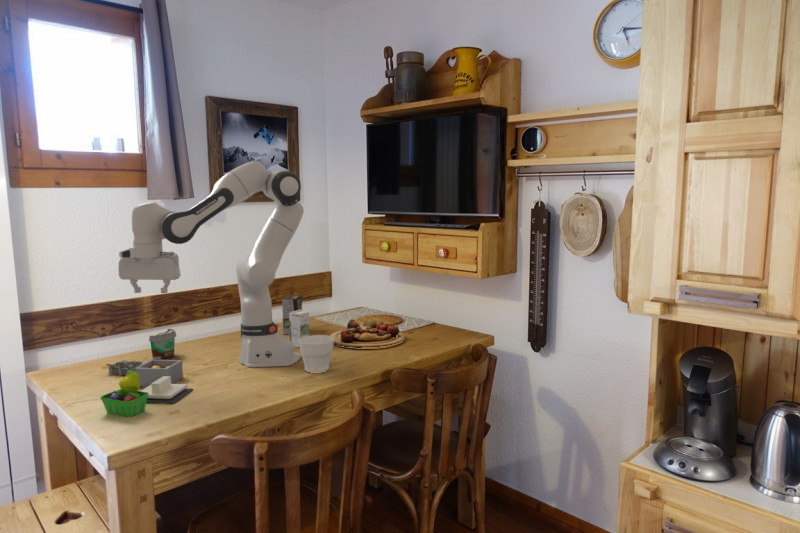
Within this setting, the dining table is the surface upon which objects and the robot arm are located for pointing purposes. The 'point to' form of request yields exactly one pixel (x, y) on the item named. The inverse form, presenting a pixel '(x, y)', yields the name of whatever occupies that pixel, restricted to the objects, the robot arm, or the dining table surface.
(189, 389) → the mat
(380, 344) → the wooden plate with food
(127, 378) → the fruit basket
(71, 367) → the dining table surface
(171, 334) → the food container
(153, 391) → the lid
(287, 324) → the coffee box
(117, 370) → the egg carton
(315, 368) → the cup
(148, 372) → the crate
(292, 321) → the syrup box
